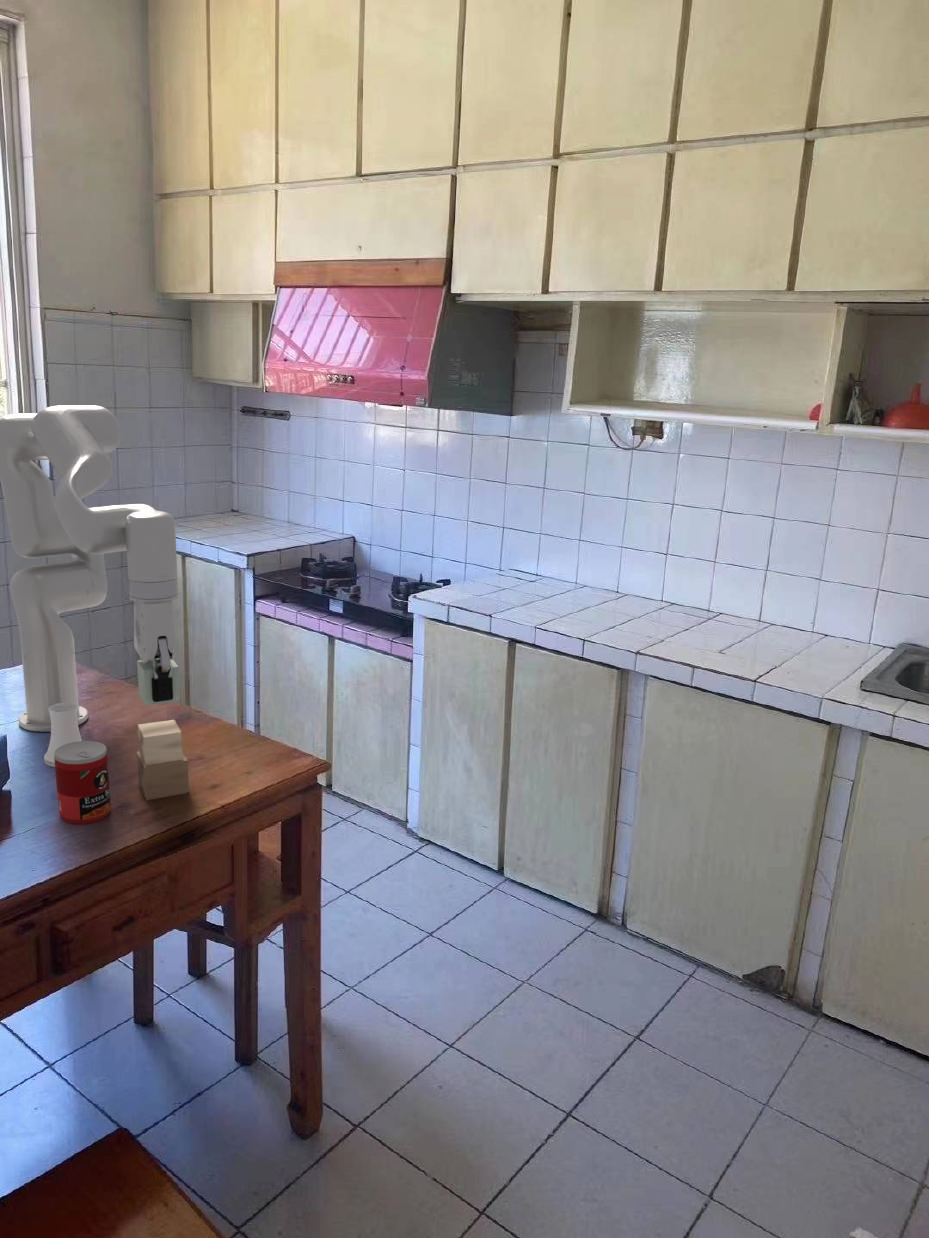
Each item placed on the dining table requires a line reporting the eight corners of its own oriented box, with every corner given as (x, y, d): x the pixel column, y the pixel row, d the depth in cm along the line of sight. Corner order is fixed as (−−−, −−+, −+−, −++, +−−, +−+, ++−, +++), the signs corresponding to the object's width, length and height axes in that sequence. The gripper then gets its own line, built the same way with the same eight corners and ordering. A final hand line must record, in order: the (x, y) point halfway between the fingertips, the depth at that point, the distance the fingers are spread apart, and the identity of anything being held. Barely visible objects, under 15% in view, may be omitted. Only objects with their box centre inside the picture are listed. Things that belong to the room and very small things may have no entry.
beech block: (139, 751, 157) (137, 724, 156) (175, 746, 160) (174, 719, 159) (145, 765, 152) (143, 737, 151) (182, 759, 155) (181, 732, 154)
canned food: (87, 829, 143) (82, 763, 140) (47, 818, 146) (42, 754, 143) (122, 808, 150) (118, 746, 147) (83, 798, 153) (78, 737, 150)
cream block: (138, 783, 159) (136, 751, 157) (179, 776, 162) (178, 745, 161) (146, 800, 153) (144, 767, 151) (189, 792, 156) (187, 760, 155)
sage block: (138, 694, 154) (136, 660, 153) (172, 690, 157) (170, 656, 155) (145, 705, 150) (143, 670, 148) (179, 700, 152) (178, 666, 151)
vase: (48, 770, 162) (44, 717, 159) (40, 755, 168) (36, 703, 165) (93, 762, 166) (90, 710, 163) (84, 747, 172) (80, 697, 169)
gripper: (119, 579, 154) (125, 681, 158) (139, 603, 139) (145, 715, 144) (165, 575, 157) (170, 676, 162) (190, 598, 143) (194, 708, 148)
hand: (158, 693), depth 153 cm, fingers closed on sage block, 5 cm apart
